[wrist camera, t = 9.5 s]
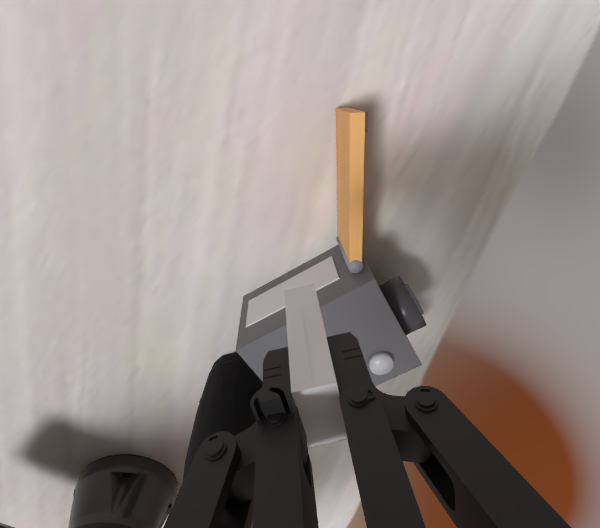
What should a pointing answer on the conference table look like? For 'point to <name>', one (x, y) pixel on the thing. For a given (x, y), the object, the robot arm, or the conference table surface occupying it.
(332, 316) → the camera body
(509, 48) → the conference table surface
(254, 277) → the conference table surface
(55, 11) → the conference table surface
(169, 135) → the conference table surface
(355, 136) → the side door
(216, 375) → the portable speaker
